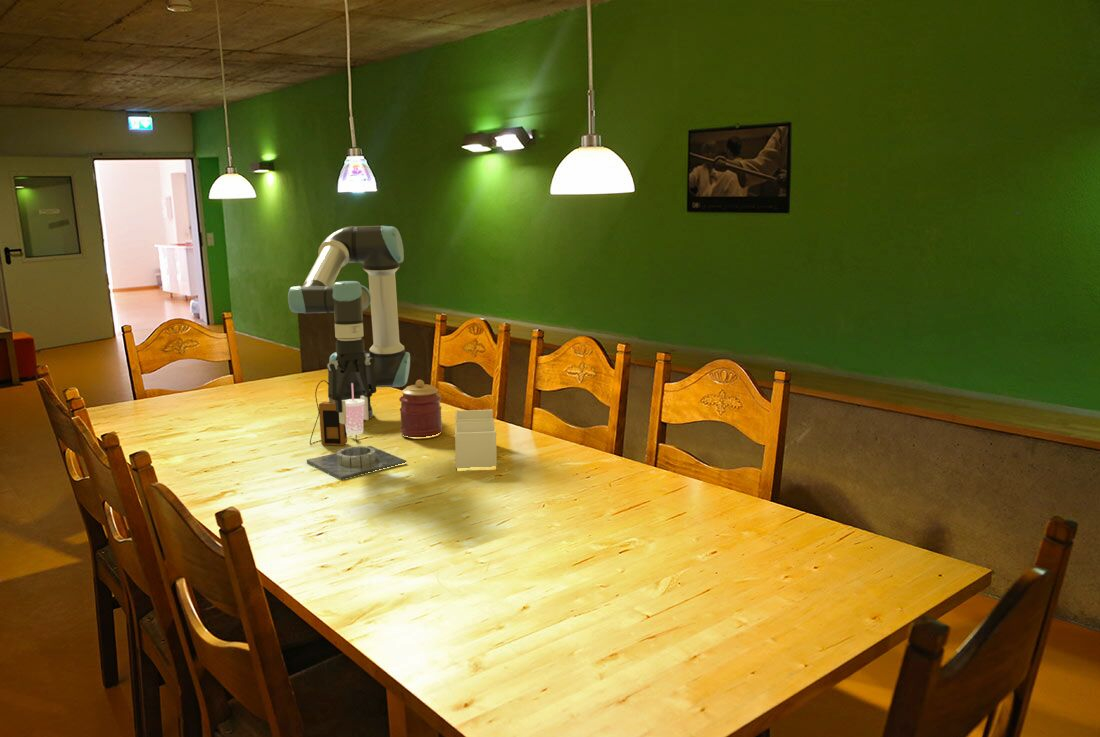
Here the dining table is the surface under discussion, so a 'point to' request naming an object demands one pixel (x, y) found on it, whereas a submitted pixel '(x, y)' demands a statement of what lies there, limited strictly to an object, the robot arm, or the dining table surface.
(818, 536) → the dining table surface
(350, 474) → the cup holder
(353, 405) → the beverage cup
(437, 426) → the canister
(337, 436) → the multimeter
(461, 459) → the desk organizer
